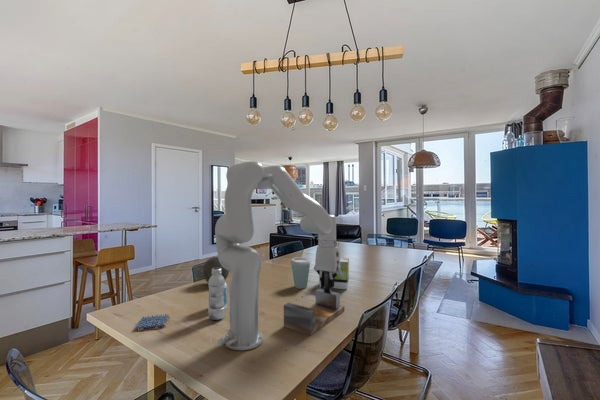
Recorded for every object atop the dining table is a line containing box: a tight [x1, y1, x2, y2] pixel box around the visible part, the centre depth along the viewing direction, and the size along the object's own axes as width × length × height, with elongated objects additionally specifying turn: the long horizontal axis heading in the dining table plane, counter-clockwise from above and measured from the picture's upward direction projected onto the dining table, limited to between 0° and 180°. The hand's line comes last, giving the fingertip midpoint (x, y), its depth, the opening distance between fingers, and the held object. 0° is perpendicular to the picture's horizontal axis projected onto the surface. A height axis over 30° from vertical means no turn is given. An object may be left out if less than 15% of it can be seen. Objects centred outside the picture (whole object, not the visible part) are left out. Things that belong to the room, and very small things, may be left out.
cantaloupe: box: [202, 256, 230, 283], centre depth 158 cm, size 14×14×15 cm
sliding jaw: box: [315, 271, 341, 309], centre depth 120 cm, size 3×10×16 cm, turn 55°
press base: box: [283, 302, 345, 336], centre depth 113 cm, size 26×12×8 cm, turn 145°
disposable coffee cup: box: [290, 257, 311, 289], centre depth 153 cm, size 11×11×15 cm
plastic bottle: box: [207, 267, 226, 321], centre depth 113 cm, size 6×7×20 cm
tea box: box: [318, 257, 350, 290], centre depth 154 cm, size 15×10×15 cm, turn 76°
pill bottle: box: [208, 277, 228, 310], centre depth 123 cm, size 8×7×14 cm
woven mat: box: [135, 313, 171, 332], centre depth 108 cm, size 10×11×2 cm
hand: (327, 286), depth 120 cm, fingers closed on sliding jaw, 3 cm apart
